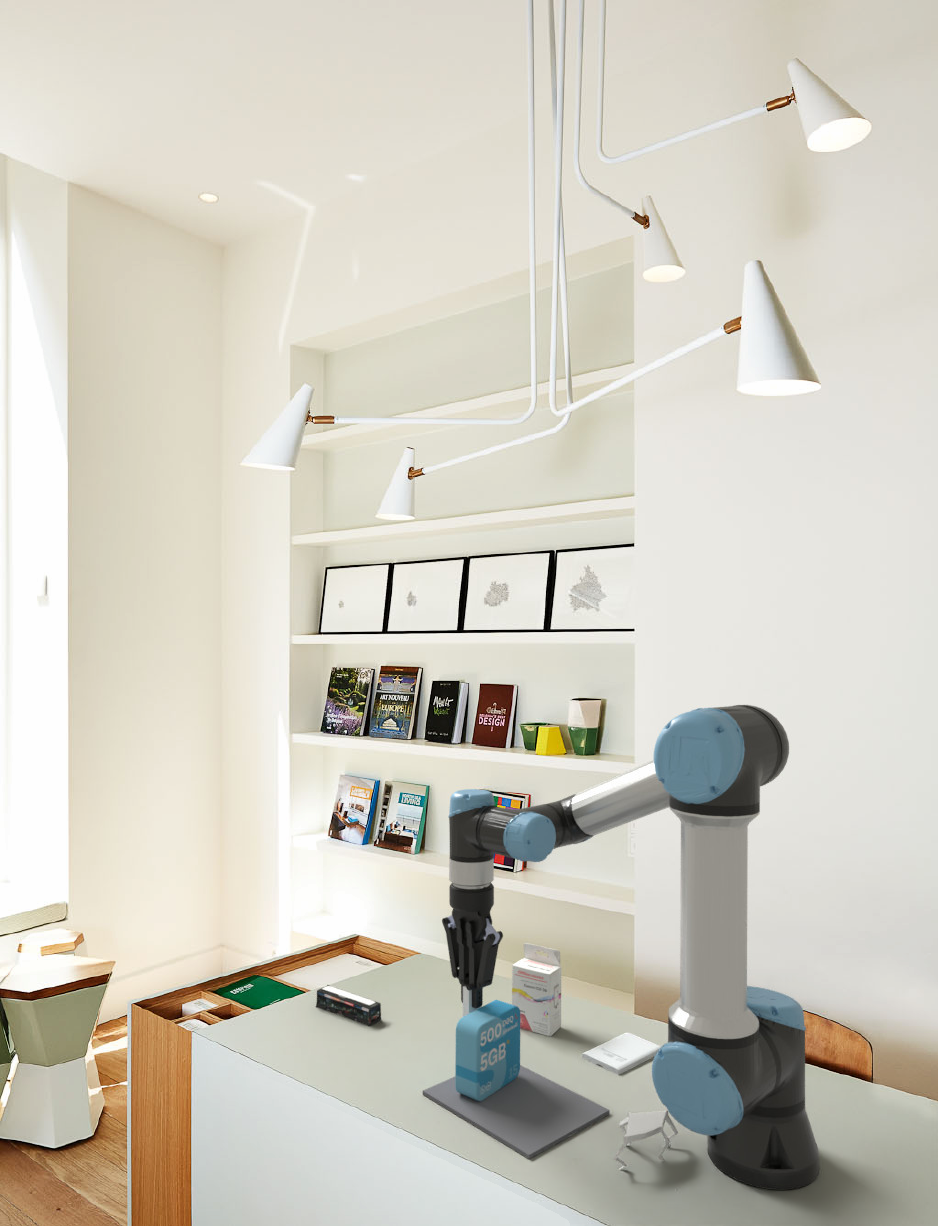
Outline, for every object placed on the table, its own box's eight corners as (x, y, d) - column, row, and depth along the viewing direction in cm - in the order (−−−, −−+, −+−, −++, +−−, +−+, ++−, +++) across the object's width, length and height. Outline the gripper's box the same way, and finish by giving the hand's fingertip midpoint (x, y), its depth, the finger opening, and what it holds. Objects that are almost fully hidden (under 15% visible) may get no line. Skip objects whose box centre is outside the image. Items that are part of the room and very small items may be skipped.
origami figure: (627, 1129, 133) (626, 1096, 133) (681, 1146, 129) (681, 1111, 129) (595, 1170, 123) (595, 1134, 123) (653, 1189, 118) (653, 1152, 118)
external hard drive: (662, 1055, 158) (618, 1078, 150) (626, 1040, 164) (581, 1060, 156) (662, 1046, 158) (618, 1068, 150) (626, 1031, 164) (581, 1051, 156)
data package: (476, 1105, 138) (477, 1027, 139) (454, 1095, 141) (455, 1020, 142) (520, 1075, 148) (521, 1003, 148) (499, 1067, 151) (499, 996, 151)
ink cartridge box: (510, 1026, 168) (510, 948, 169) (523, 1017, 172) (523, 941, 173) (550, 1037, 164) (550, 957, 164) (562, 1027, 168) (562, 949, 168)
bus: (334, 993, 185) (334, 973, 185) (424, 1025, 170) (424, 1003, 170) (280, 1016, 174) (280, 995, 174) (372, 1052, 159) (373, 1029, 159)
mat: (609, 1113, 137) (609, 1109, 137) (529, 1158, 125) (529, 1154, 125) (502, 1059, 155) (502, 1055, 155) (422, 1094, 143) (422, 1090, 143)
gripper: (514, 886, 146) (515, 1030, 145) (462, 871, 156) (462, 1006, 155) (481, 895, 141) (481, 1044, 140) (429, 879, 151) (429, 1018, 150)
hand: (471, 1024), depth 148 cm, fingers closed
